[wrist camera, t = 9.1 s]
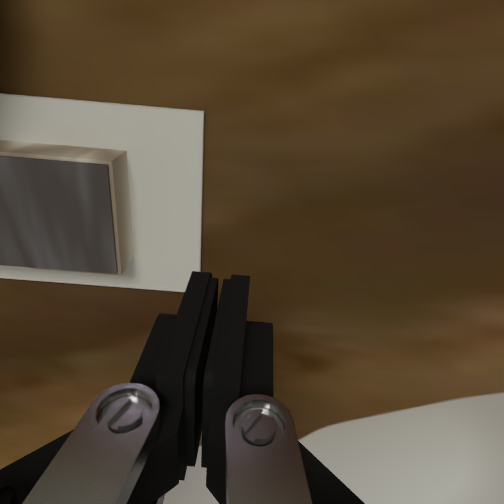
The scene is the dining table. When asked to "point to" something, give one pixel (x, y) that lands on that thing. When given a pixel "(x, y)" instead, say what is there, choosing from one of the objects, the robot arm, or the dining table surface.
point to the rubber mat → (139, 177)
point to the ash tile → (64, 208)
